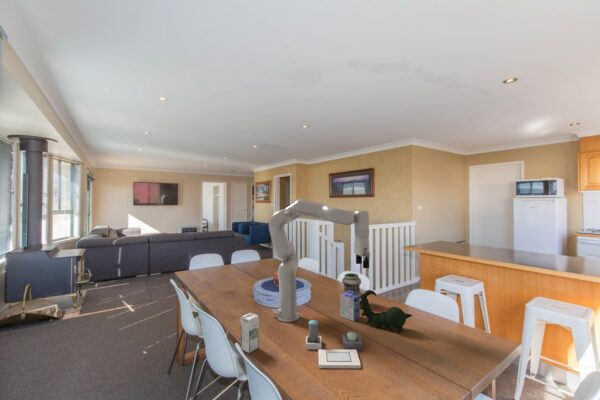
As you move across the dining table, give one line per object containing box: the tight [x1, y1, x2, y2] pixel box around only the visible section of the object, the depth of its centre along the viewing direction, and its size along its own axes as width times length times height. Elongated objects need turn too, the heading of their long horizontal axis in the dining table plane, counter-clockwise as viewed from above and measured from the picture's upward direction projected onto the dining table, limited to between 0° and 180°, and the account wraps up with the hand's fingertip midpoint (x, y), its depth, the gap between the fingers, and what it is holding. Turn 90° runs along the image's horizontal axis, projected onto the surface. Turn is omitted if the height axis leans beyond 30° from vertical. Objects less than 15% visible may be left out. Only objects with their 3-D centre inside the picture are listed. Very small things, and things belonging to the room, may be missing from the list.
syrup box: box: [240, 312, 260, 354], centre depth 119 cm, size 6×6×14 cm
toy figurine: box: [359, 289, 413, 333], centre depth 136 cm, size 9×19×25 cm
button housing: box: [341, 333, 364, 351], centre depth 120 cm, size 8×8×3 cm
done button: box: [346, 331, 357, 341], centre depth 120 cm, size 4×4×4 cm
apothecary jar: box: [341, 272, 363, 300], centre depth 169 cm, size 12×12×18 cm
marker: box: [308, 319, 319, 343], centre depth 121 cm, size 4×4×10 cm
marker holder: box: [305, 335, 323, 350], centre depth 121 cm, size 7×7×2 cm
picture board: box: [317, 348, 362, 369], centre depth 109 cm, size 16×11×1 cm
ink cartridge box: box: [339, 290, 361, 322], centre depth 149 cm, size 10×6×14 cm, turn 41°
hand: (362, 265), depth 145 cm, fingers open, 9 cm apart
